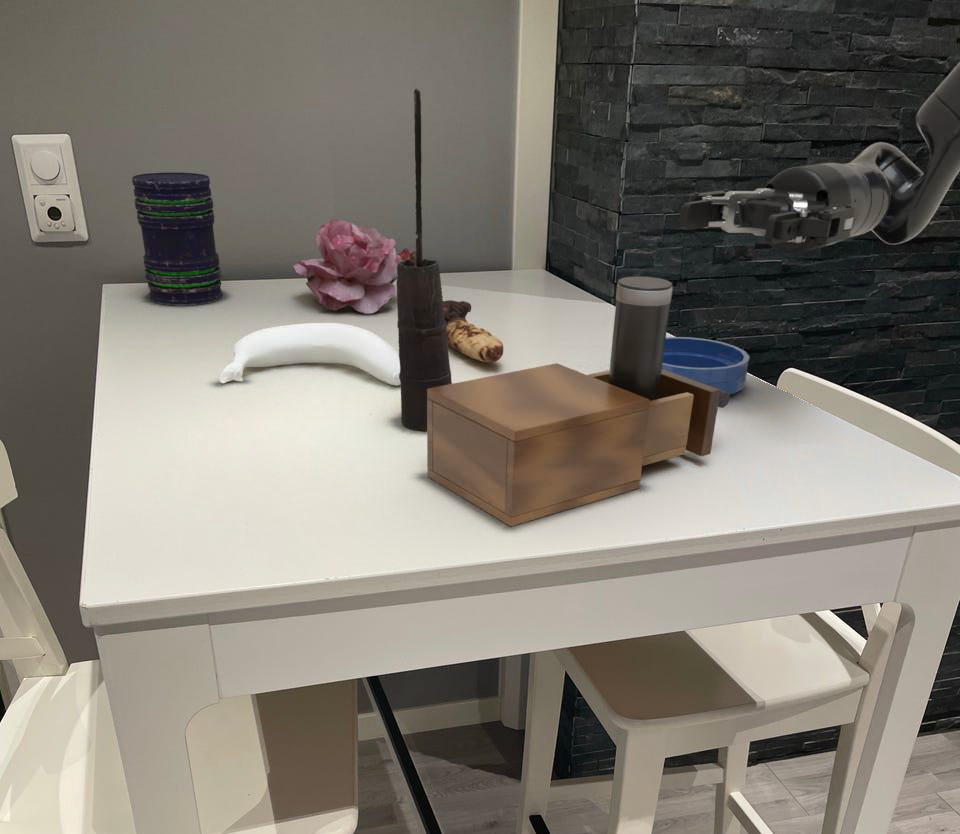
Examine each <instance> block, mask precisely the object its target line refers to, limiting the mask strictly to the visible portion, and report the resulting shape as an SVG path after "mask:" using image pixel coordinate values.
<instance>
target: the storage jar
mask: <svg viewBox="0 0 960 834" xmlns="http://www.w3.org/2000/svg"><path fill="white" fill-rule="evenodd" d="M131 181H132V186H134V189H133V195H134V197H135V198H134V200H133V201H134V207H135V210H136V215H137V216H136V219H137V223H138V225H139V226H140V228H141V235H142V242H143V247H144V248H143V249H144V255H143V264H144V268H145V269H144V273H145V274H144V275H145V279H146V281H148V282H147V287H148V289H149V300H150V301H151V302H153V303H155V304H159V305H164V306H165V305H166V306H175V307H177V306H179V307H180V306H183V307H184V306H185V307H186V306H199V305H206V304H211V303H215V302H218V301H219V300H221V299H223V291H222V288H221V285H222V280H221V278H222V270H221V267H220V259H219V254H218V253H217V249H216V242H215V241H216V239H215V231H214V223H215V214H214V210H213V209H214V199H213V197H212V190H211V188H210V184H211V180H210V176H209V175H207V174H202V173H196V172H195V173H193V172H173V171H172V172H171V171H170V172H169V171H168V172H150V173H141V174H136V175H133V176H131Z"/></svg>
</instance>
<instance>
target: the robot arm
mask: <svg viewBox="0 0 960 834" xmlns="http://www.w3.org/2000/svg"><path fill="white" fill-rule="evenodd" d="M915 125H916V128H917V130H918V131H919V133H920V135H921V136H922V138H923V140H924V141H925V143H926V145H927V148H928V151H929V159H928V163H927V165H926V169H925V171H922V170H921V169H920V168H919V167H918V166H917V165H915V163H914V162H913V161H911V159H909V158H908V156H907V155H905V153H903V151H901V150H900V149H899V148H898V147H897V146H895V145H893V144H891V143H889V142H883V141H879V142H874V143H872V144H870V145H868V146H867V147H866V148H865V149H863V150H862V151H860V153H858V154H857V156H855V158H853V160H851V161H849V162H845V163H839V162H823V163H815V164H806V165H800V166H792V167H789V168H785V169H784V170H782V171H780V172H779V173H777V174H776V175H774V176H773V178H771V179H770V180H769V182H768V183H767V184H766V186H765V187H762V188H761V187H759V188H755V190H730V189H729V188H728V189H727V188H724V189H723V190H715V191H707V192H706V191H704V192H693V193H690V194H689V197H688V202H687V201H686V202H684V203H683V204H682V206H680V212H679V220H678V225H679V229H681V230H685V231H692V230H698V229H708V228H720V229H721V230H722V231H724V232H726V233H728V234H752V235H754V236H757V237H763V238H764V239H763V241H764V243H765V244H769V246H770V247H772V248H773V249H775V250H776V251H778V252H781V253H785V254H799V253H804V252H807V251H812V250H817V249H820V248H825V247H828V246H832V245H835V244H837V243H839V242H841V241H844V240H846V239H851V238H854V237H858V236H862V235H864V234H868V233H869V232H872V233H873V234H875V236H876V237H878V239H879V240H881V241H882V242H884V243H885V244H887V245H900V244H904V243H906V242H909V241H911V240H912V239H914V238H915V237H916V236H917V235H919V234H920V233H921V232H923V230H924V229H926V227H927V226H928V224H929V223H930V221H931V220H932V218H933V217H934V215H935V214H936V213H937V210H938V209H939V207H940V205H941V203H942V201H943V200H944V198H945V196H946V194H947V193H948V191H949V189H950V187H951V186H952V184H953V182H954V180H955V179H956V177H957V176H958V175H959V173H960V61H959V62H958V63H957V64H956V66H955V67H954V68H953V69H952V70H951V71H950V72H949V74H948V75H947V76H945V78H944V79H943V80H942V82H941V83H940V84H939V85H938V87H937V88H936V89H935V90H934V92H932V94H931V95H929V97H928V98H927V99H926V100H925V101H924V103H923V104H922V105H921V107H920V108H919V110H918V111H917V113H916V115H915ZM736 214H737V215H738V219H739V221H740V222H741V224H735V219H736Z"/></svg>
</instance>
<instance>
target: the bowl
mask: <svg viewBox="0 0 960 834" xmlns="http://www.w3.org/2000/svg"><path fill="white" fill-rule="evenodd" d="M750 359H751V357H750V355H749V354H748V352H747V351H746V350H743V349H742V348H740V347H739V346H736V345H733V344H729V343H727V342H723V341H718V340H714V339H713V340H712V339H708V338H700V337H692V336H689V337H688V336H666V340H665V348H664V355H663V363H662V369H664V370H666V371H669V372H672V373H675V374H678V375H680V376H683V377H686V378H689V379H692V380H694V381H697V382H700V383H703V384H706V385H708V386H711V387H714V388H717V389H720V390H722V391H724V392H727V393H729V395H733V394H736V393H738V392H739V391H741V390H743V389H744V388H745V385H746V383H747V382H746V380H747V376H748V369H749V363H750Z"/></svg>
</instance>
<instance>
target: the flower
mask: <svg viewBox="0 0 960 834" xmlns="http://www.w3.org/2000/svg"><path fill="white" fill-rule="evenodd" d="M315 240H316V241H315V242H316V246H317V249H318V251H319V253H320V255H321V257H322V258H310V259H303V260H302V259H301V260H299V261H298V262H297V263H296V264H293V265H292V268H293V270H294V272H296V273H297V274H298V275H300V276H301V277H304V278H305V279H306V280H307V282H305V285H306V286H307V287H308V289H309V290H310V291H311V292H312V294H313V295H315V296H316V298H317V300H318V302H319V304H320V305H322V306H323V307H325V308H327V309H329V310H332V311H337V310H339V309H343V308H345V307H348V306H350V307H351V308H352V309H354V310H355V311H357V312H359V313H360V314H364V315H373V314H374V313H376V312H378V311H379V310H380V309H381V308H382V306H385V305H387V304H388V303H389V301H390V299H391V298H393V297H394V296H395V292H396V286H395V285H394V284H393V283H395V282H396V281H397V277H398V275H397V265H398V264H397V263H398V262H401V261H404V260H405V259H409V260H411V259H410V253H411V252H410V251H409V248H403V249H402V250H401V251H400V252H399V253H397V251H396V248H395V247H396V245H397V242H396V240H395V239H394V238H387V237H385V236H383V235H382V234H381V233H380V232H379V231H378V230H377V229H376V228H374V227H372V228H371V227H368V226H364V225H360V226H359V227H358V226H357V225H355V224H354V223H353V222H348V221H346V220H343V219H340V218H339V219H334V218H331V219H330V221H329V222H327V223H324V224H322V225H320V227H319V228H318V230H317V235H316V238H315Z"/></svg>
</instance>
